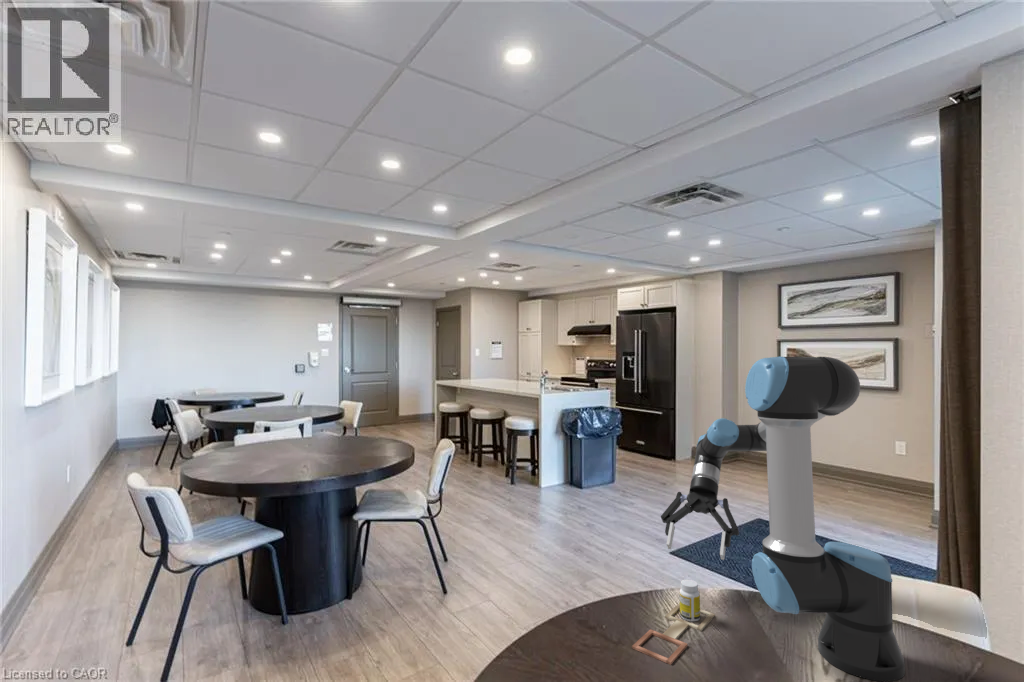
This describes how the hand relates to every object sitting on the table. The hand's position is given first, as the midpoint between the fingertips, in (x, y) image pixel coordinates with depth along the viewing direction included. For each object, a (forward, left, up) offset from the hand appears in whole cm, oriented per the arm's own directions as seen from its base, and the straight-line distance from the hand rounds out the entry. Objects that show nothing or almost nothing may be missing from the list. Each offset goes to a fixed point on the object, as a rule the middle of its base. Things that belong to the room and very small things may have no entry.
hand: (694, 552), depth 131 cm
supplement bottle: (-2, +9, -13) cm, 16 cm away
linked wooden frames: (-2, +17, -13) cm, 22 cm away
